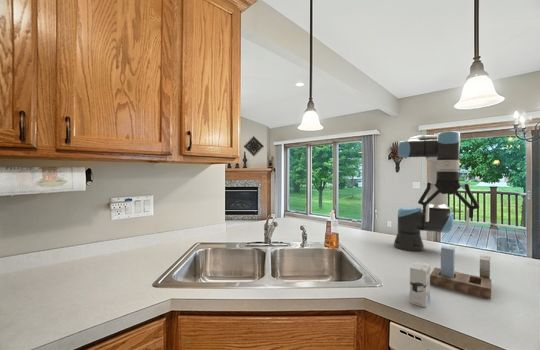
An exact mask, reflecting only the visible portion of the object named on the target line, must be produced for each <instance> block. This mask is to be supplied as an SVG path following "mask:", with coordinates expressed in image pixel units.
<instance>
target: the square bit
mask: <svg viewBox="0 0 540 350" xmlns="http://www.w3.org/2000/svg"><path fill="white" fill-rule="evenodd" d="M455 250H456V247H455V246H447V245H442V246H441V247H440V269H441V275H443V276H447V277H452V278H454V272H455V261H456V260H455V258H456V257H455V256H456V255H455V254H456V253H455V252H456V251H455Z"/></svg>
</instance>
